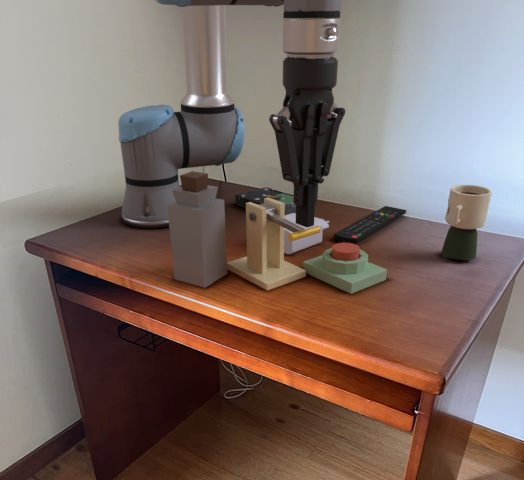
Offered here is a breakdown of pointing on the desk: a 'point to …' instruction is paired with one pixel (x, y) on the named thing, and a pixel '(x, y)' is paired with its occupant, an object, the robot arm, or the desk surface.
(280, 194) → the disk drive
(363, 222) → the remote control
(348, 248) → the button
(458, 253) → the character mug
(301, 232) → the t-handle lever
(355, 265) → the button box
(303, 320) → the desk surface
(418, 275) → the desk surface
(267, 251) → the bracket
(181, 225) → the perfume bottle
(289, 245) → the charger
